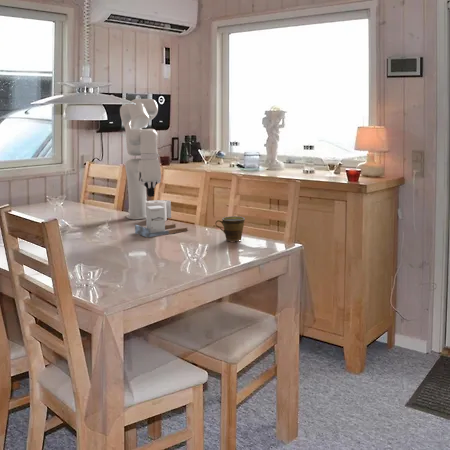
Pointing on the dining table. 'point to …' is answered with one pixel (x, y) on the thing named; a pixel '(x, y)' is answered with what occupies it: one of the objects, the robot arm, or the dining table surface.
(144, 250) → the dining table surface
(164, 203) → the toilet tissue
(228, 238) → the ceramic cup
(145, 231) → the blue brown forked frame
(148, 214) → the supplement box
